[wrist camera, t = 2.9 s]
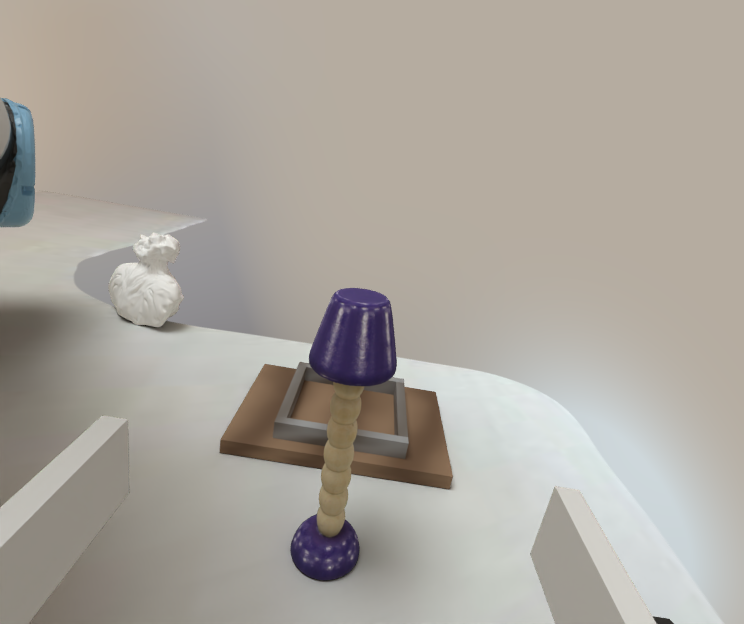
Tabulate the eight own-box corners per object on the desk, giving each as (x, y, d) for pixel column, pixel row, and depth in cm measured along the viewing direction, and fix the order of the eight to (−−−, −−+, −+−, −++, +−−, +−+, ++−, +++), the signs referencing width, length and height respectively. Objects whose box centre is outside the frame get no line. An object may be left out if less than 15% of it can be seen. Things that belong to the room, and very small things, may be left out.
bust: (179, 348, 54) (230, 269, 56) (129, 323, 47) (189, 236, 50) (123, 316, 59) (171, 246, 62) (72, 290, 53) (128, 213, 55)
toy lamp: (268, 553, 27) (299, 291, 21) (311, 505, 31) (346, 275, 25) (337, 594, 25) (389, 321, 19) (372, 538, 29) (425, 299, 24)
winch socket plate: (219, 452, 34) (221, 423, 33) (263, 374, 47) (266, 350, 46) (449, 489, 35) (457, 460, 34) (433, 401, 47) (438, 379, 46)
